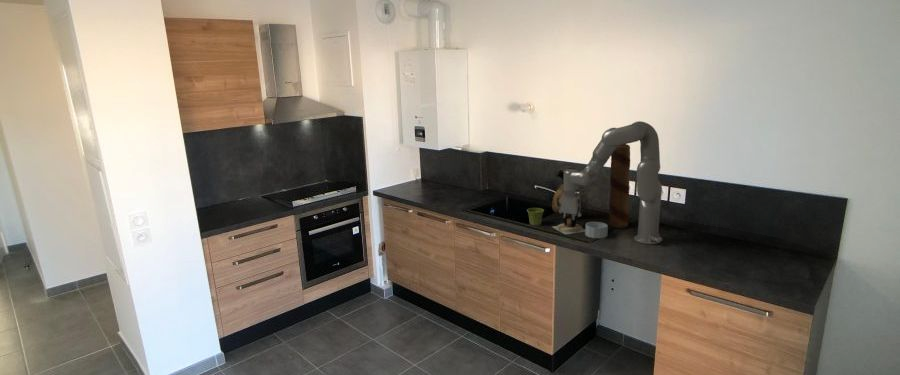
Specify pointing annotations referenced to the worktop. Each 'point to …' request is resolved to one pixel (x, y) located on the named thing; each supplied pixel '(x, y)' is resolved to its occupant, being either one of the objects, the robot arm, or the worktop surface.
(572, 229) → the lid
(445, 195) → the worktop surface
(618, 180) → the wafer roll
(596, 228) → the bowl
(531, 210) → the plant pot
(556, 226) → the mat
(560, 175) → the ceramic jug
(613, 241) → the worktop surface
